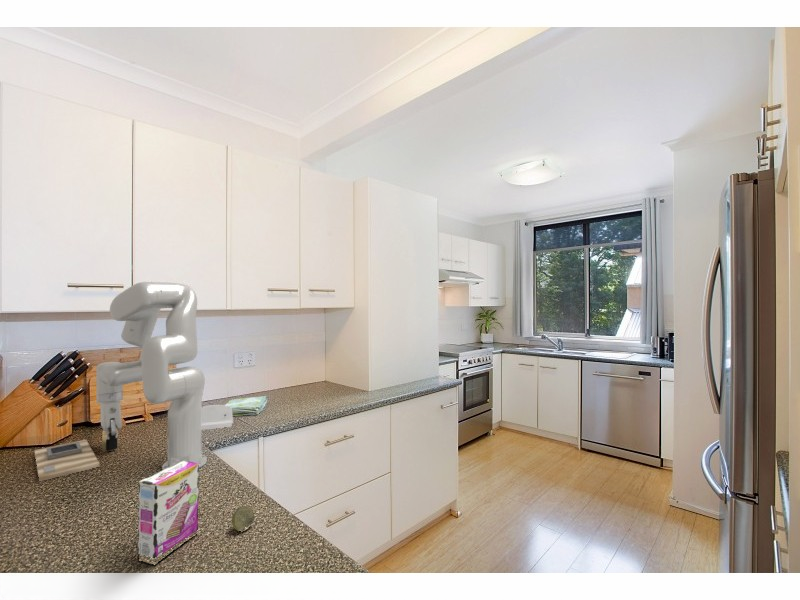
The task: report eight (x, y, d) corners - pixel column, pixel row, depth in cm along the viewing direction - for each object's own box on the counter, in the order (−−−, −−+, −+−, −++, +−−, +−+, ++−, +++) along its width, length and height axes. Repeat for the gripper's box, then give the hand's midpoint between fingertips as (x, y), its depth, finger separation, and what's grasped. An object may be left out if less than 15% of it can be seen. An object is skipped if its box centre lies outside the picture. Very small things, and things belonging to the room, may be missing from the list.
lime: (255, 523, 91) (255, 502, 91) (248, 535, 86) (248, 513, 86) (236, 523, 91) (236, 502, 91) (228, 536, 86) (228, 513, 86)
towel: (217, 418, 174) (217, 407, 174) (231, 406, 195) (231, 396, 195) (259, 416, 177) (259, 405, 177) (268, 404, 198) (268, 394, 198)
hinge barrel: (114, 451, 136) (114, 431, 136) (99, 452, 135) (99, 432, 135) (120, 446, 140) (119, 427, 140) (106, 448, 139) (105, 428, 139)
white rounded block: (188, 431, 156) (189, 406, 159) (190, 431, 160) (191, 407, 164) (232, 426, 162) (233, 402, 165) (233, 427, 166) (234, 403, 169)
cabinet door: (99, 467, 123) (99, 458, 123) (39, 482, 113) (39, 472, 113) (86, 443, 144) (86, 435, 144) (34, 454, 134) (34, 445, 134)
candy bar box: (156, 567, 76) (155, 484, 76) (136, 562, 78) (136, 481, 78) (200, 534, 87) (199, 461, 87) (182, 530, 88) (182, 459, 88)
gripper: (127, 399, 134) (127, 450, 134) (117, 391, 146) (118, 438, 146) (100, 403, 129) (101, 457, 129) (92, 394, 141) (93, 444, 141)
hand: (110, 446), depth 137 cm, fingers open, 5 cm apart
